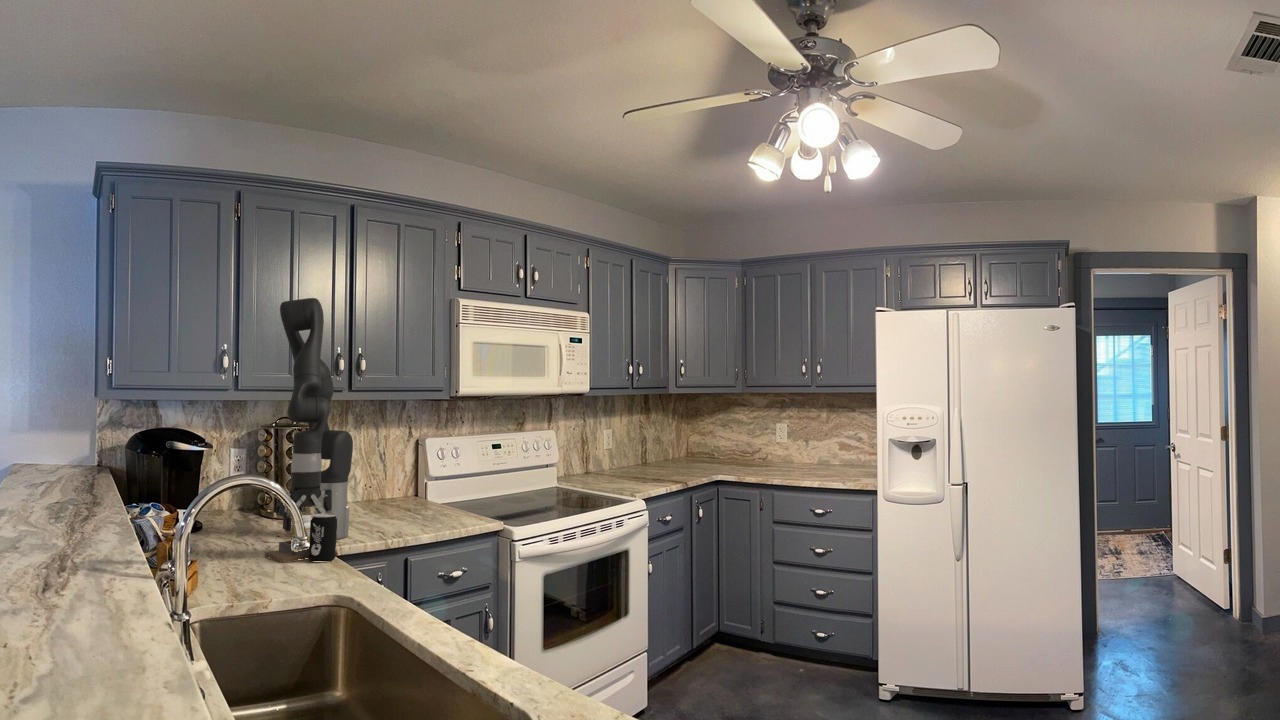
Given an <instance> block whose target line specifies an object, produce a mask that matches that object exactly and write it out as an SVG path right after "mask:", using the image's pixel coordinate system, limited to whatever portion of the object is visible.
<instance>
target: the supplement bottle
mask: <svg viewBox="0 0 1280 720" xmlns="http://www.w3.org/2000/svg"><path fill="white" fill-rule="evenodd" d="M301 515H302V519H303V522H304V526H305V529H306V532H307V535H308V538H309V540H310V521H311V520H312V515H311V514H301ZM293 535H294V526H293V524H291V535H290V536H291V537H290V538H291V539H290V541H291V540H292V537H293Z"/></svg>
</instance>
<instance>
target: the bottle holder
mask: <svg viewBox="0 0 1280 720" xmlns="http://www.w3.org/2000/svg"><path fill="white" fill-rule="evenodd" d="M265 556H267V557H270V558H272V559H271V560H273V559H275V560H274V561H276V560H278V561H277V562H279V561H281V562H280V563H282V562H286V563H289V562H288V561H293V562H295V561H294V560H298V559H305V558H309V549H307V550H302V551H298V552H294V551H292V550H291V540H286V541H279V542H278V550H272V551H265V552H264V557H265ZM267 557H266V558H267ZM270 558H269V559H270Z"/></svg>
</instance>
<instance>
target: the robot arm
mask: <svg viewBox="0 0 1280 720" xmlns="http://www.w3.org/2000/svg"><path fill="white" fill-rule="evenodd" d="M279 314H280V320H281V323H282V325H283V330H284V332H285V335H286V338H287V342H288V345H289V347H290V350H291V354H292V358H293V373H292V374H293V388H292V389H293V390H292V394H291V398H290V400H289V404H288V407H287V416H288V419H289V420H290V421H292V422H293V423H300V424H301V423H307V426H308V429H307V430H303V431H302V430H301V431H298V432H297V431H296V433H294V435H293V443H292V444H293V445H292V446H293V447H292V457H291V465H290V486H289V487H290V490H289V492H287V493H288V494H289V495H290V497H291V498H292V499H293V500H294V502H295V503H296V505H297V506H298V509H299V508H306V507H308V508H309V507H310V508H311V507H312V508H313V509H314V510H313V511H314V512H313V515H314V514H321V513H333V514H336V518H337V540H340V539H344V538H348V537H349V522H350V506H349V505H347V504H348V489H349V488H348V487H349V486H348V485H349V476H350V473H351V471H352V470H351V469H352V462H353V460H352V459H353V452H354V451H353V449H354V441H353V437H352V435H351V433H349V431H347V430H339V429H338V430H337V429H335V430H334V429H330V426H329V422H328V418H329V416H330V412H331V406H330V405H331V402H332V398H333V396H334V390H335V388H334V383H333V378H332V373H331V370H330V368H329V367H328V364H326V363H325V361H323V359H322V358H321V354H322V353H321V352H322V346H323V335H324V324H325V323H324V321H325V320H324V319H325V318H324V310H323V306H322V303H321V302H320V300H319V299H318V298H316V297H308V298H301V299H293V300H292V299H291V300H287V301H286V300H285V301H283V302H281V303H280V306H279ZM303 331H309V334H308V336H307V339H306V341H305V340H304V339H303V337H302V336H301V333H300V332H303ZM323 460H329V464H328V465H329V466H327V468H325V469H324V470H322V468H323V467H322V466H323V464H322V463H323ZM275 515H276V516H280V517H282V518H283V519H282V529H283V530H284V532H286V533H288V532H292V515H290V513H289V511H288V509H287V508H286V505H285V506H284V505H283V503H282V502H281V501H280V500H279V499H276V508H275Z"/></svg>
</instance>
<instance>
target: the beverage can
mask: <svg viewBox="0 0 1280 720" xmlns="http://www.w3.org/2000/svg"><path fill="white" fill-rule="evenodd" d="M337 540H338V539H337V518H336V514H333V513H321V514H314V513H313V514H312V517H311V521H310V540H309V542H310V547H309V559H308V560H309V561H310V562H311V561H330V562H332V560H333V561H334V559H336V556H337Z"/></svg>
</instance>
